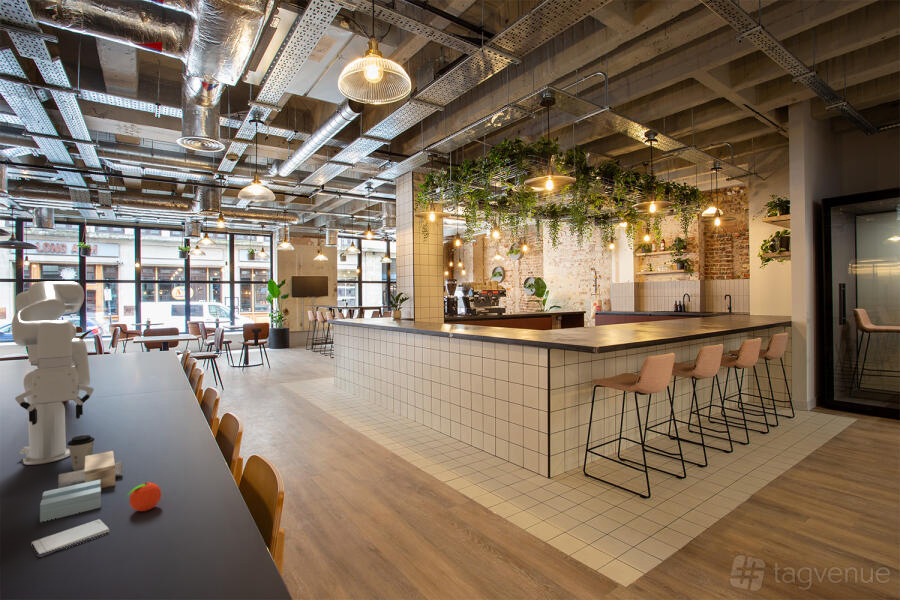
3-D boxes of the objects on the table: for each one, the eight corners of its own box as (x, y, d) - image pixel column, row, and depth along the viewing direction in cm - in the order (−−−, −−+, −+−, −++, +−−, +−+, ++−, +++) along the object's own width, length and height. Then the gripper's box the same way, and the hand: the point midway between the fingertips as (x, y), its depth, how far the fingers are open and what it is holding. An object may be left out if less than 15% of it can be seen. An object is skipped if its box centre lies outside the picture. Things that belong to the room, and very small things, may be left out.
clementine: (132, 520, 110) (131, 492, 110) (120, 513, 113) (119, 486, 113) (166, 507, 117) (166, 481, 116) (153, 501, 120) (153, 475, 120)
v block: (40, 522, 110) (39, 506, 109) (44, 505, 119) (43, 490, 119) (101, 507, 117) (100, 492, 117) (100, 491, 126) (100, 478, 126)
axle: (58, 492, 127) (58, 477, 127) (59, 487, 131) (59, 472, 131) (122, 477, 137) (122, 463, 137) (122, 473, 140) (121, 459, 140)
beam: (85, 492, 127) (84, 471, 126) (85, 474, 139) (85, 456, 139) (115, 485, 131) (114, 465, 131) (113, 468, 143) (113, 450, 143)
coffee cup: (100, 464, 147) (99, 435, 147) (77, 472, 141) (76, 441, 141) (86, 462, 150) (85, 433, 149) (62, 470, 143) (62, 439, 143)
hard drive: (99, 518, 109) (31, 540, 100) (109, 528, 104) (39, 553, 94) (99, 524, 109) (31, 547, 100) (109, 535, 104) (39, 560, 94)
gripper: (11, 367, 121) (13, 429, 121) (91, 361, 131) (93, 418, 131) (17, 364, 127) (19, 423, 127) (93, 358, 137) (95, 413, 137)
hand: (56, 420), depth 129 cm, fingers open, 9 cm apart
